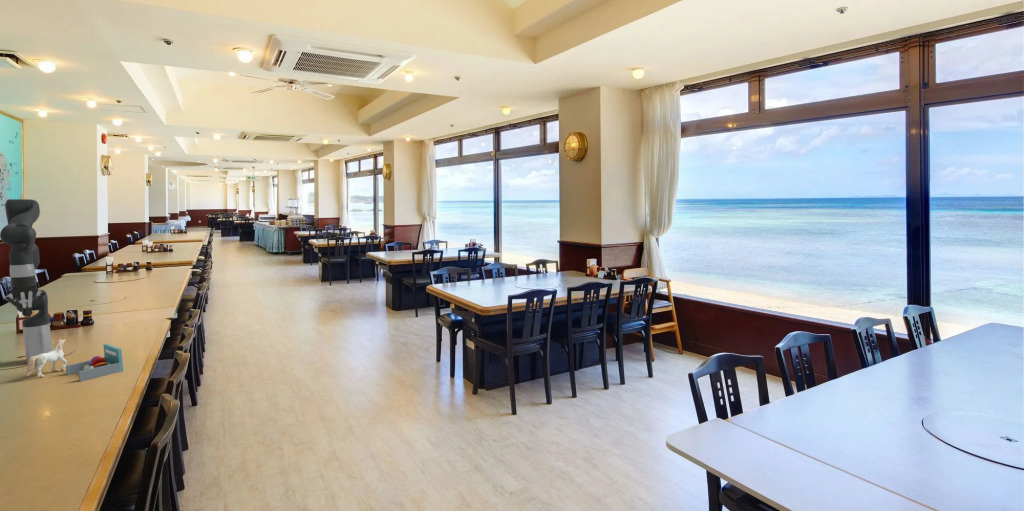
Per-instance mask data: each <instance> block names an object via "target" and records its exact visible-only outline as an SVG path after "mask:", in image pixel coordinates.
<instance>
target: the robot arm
mask: <svg viewBox="0 0 1024 511" xmlns="http://www.w3.org/2000/svg"><path fill="white" fill-rule="evenodd" d="M4 207H5V208H4V209H5V214H6V219H7V225H5V226H4V227H2V228H1V231H0V240H1V241H2V242H3V244H6V245H10V251H9V252H8V259H9V276H10V286H11V290H10V293H9V294H8V295H4V296H3V298H4V300H5V301H7V302H8V303H10V304H11V305H12V306H14V307H15V308H16V310H17V311H18V312H19V313H21V315H22V316H23V317H24V318H25V319H23V320H22V321H21V323H22V324H21V325H22V333H23V334H22V335H23V341H24V343H23V344H24V352H25V360H26V361H25V362H26V364H28V362H29V358H30V357H32V356H37V355H39V354H44V353H48V352H49V351H51V350H52V349H53V346H52V336H51V335H52V333H51V326H50V317H49V299H48V297H49V296H48V293H47V291H45V290H44V289H39V288H38V287H37V278H36V269H37V268H38V266H39V265H40V261H41V260H40V249H39V247H38V245H37V244H36V243H35V242H36V238H37V231H36V230H35V228H33V224H35V222H37V220H38V219H39V217H40V215H41V214H40V213H41V210H40V204H39V202H38V201H37V200H35V199H28V198H26V199H23V198H22V199H21V198H20V199H19V198H17V199H15V198H14V199H12V198H11V199H7V200H5V204H4ZM14 299H15V300H14ZM34 311H35V312H36V311H37V313H35V314H34V315H33V312H34Z"/></svg>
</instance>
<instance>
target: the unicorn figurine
mask: <svg viewBox="0 0 1024 511" xmlns="http://www.w3.org/2000/svg"><path fill="white" fill-rule="evenodd" d="M65 341H66V339H61V337H59V336H58V339H57V344H55V345H54V346H53V347H52V350H51V351H49V352H48V353H44V354H39V355H37V356H32V357H30V358H29V362H28V363H27V367H26V371H25V374H26V377H28V376H30V375H31V374H32V373H33V372H34V370H36V374H37V377H38V378H45V377H46V375H44V374H43V373H42V368H43V367H44V366H45V364H46V363H52V367H51V372H58V368H56V364H57V361H58V360H59V361H61V362H63V364H62V365H61V367H60V371H61V372H64V371H66V365H68V364H67V363H68V360H67V359H66V358H64V356H65V353H64V351H63V347H64V343H65Z"/></svg>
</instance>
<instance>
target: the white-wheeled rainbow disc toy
mask: <svg viewBox="0 0 1024 511" xmlns="http://www.w3.org/2000/svg"><path fill="white" fill-rule="evenodd" d="M88 361H89V360H88ZM109 364H110V363H107V362H105V359H104V358H103V357H102V356H99V355H95V356H93V357H92V358H91V359H90V361H89V364H87V365H86V366H84V368H83V370H87V369H92V368H96V367H101V366H105V365H109Z"/></svg>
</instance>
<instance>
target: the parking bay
mask: <svg viewBox="0 0 1024 511" xmlns="http://www.w3.org/2000/svg"><path fill="white" fill-rule="evenodd" d="M122 351H123V350H122V348H120V347H118V346H114V345H111V344H108V343H103V353H104V354H103V356H104V357H102V358H104V359H105V362H107V363H110V364H109V365H105V366H101V367H96V368H92V369H87V370H83V368H84V366H86V365H87V364H89V361H90V360H91V359H90V360H84V361H81V362H76V363H71V364H66V368H65V373H66V375H67V376H69V375H74V374H78V379H79V380H78V381H79V382H83V381H88V380H92V379H96V378H100V377H101V378H102V377H104V376H109V375H112V374H116V373H120V372H124V363H123V354H122Z"/></svg>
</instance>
